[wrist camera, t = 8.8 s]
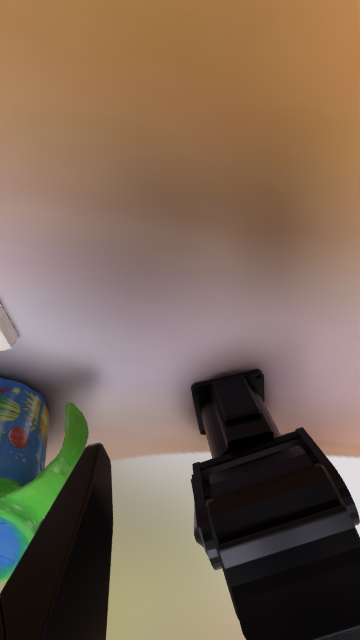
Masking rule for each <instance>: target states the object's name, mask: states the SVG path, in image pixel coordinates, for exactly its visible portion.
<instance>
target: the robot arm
mask: <svg viewBox="0 0 360 640" xmlns="http://www.w3.org/2000/svg"><path fill="white" fill-rule="evenodd" d="M257 375H258V376H257ZM196 389H198V390H196ZM191 392H192V397H193V402H194V406H195V411H196V416H197V421H198V426H199V430H200V433H201V434H202V435H206V436H207V440H208V444H209V447H210V451H211V455H212V459H210V460H207V461H204V462H201V463H200V462H197V463H194V464H193V475H192V479H191V483H192V488H193V494H194V502H195V512H194V536H195V539H196V542H197V543H199V544H200V545H201V546H203V547H204V548H205V551H206V553H207V555H208V557H209V559H210V562H211V564H212V566H213V568H214V569H215V570H218V569H221V568H222V569H223V572H224V575H225V579H226V582H227V585H228V589H229V592H230V595H231V599H232V602H233V605H234V609H235V612H236V615H237V617H238V619H239V621H240V625H241V628H242V632H243V635H244V636H245V638H246V640H360V537H359V535H358V533H357V530H356V528H355V526H356V525H358V524H359V523H360V520H359V515H358V511H357V509H356V506H355V503H354V501H353V499H352V497H351V494H350V492H349V490H348V489H347V486H346V485H345V483H344V481H343V479H342V478H341V476H340V475H339V473H338V471H337V470H336V469H335V467H334V466H333V465H332V463H331V462H330V461H329V460H328V458H327V457H326V456H325V455H324V453H323V452H322V451H321V450H320V448H319V447H318V446H317V445H316V443H315V442H314V441H313V440H312V438H311V437H310V436H309V435H308V433H307V432H306V431H305V430H304V428H303V427H301V428H298V429H295V431H294V432H291V433H288V434H285V435H282V436H281V434H280V432H279V431H278V429H277V427H276V425H275V423H274V421H273V419H272V417H271V415H270V413H269V412H268V410H267V408H266V406H265V404H264V375H263V373H262V371H261V370H254V371H250V372H245V373H241V374H237V375H233V376H228V377H224V378H220V379H215V380H211V381H207V382H203V383H198V384H195V385H193V386H192V387H191ZM112 534H113V505H112V478H111V462H110V459H109V457H108V455H107V453H106V451H105V449H104V447H103V445H102V444H101V443H96V444H92V445H88V446H87V447H86V448H85V449H84V451H83V453H82V454H81V456H80V458H79V460H78V461H77V463H76V465H75V466H74V468H73V470H72V471H71V473H70V475H69V477H68V478H67V480H66V482H65V483H64V485H63V487H62V489H61V490H60V492H59V494H58V495H57V497H56V499H55V501H54V502H53V504H52V506H51V507H50V509H49V511H48V512H47V514H46V516H45V518H44V519H43V521H42V523H41V524H40V526H39V528H38V530H37V531H36V533H35V535H34V536H33V538H32V540H31V542H30V543H29V545H28V547H27V548H26V550H25V552H24V554H23V555H22V557H21V559H20V560H19V562H18V564H17V565H16V567H15V569H14V571H13V572H12V574H11V576H10V577H9V579H8V581H7V583H6V585H5V586H4V588H3V590H2V591H1V593H0V640H106V629H107V612H108V597H109V581H110V566H111V550H112Z"/></svg>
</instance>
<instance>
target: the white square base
mask: <svg viewBox="0 0 360 640" xmlns="http://www.w3.org/2000/svg"><path fill="white" fill-rule="evenodd" d="M18 337H19V335H18V333H17V332H16V330H15V328H14V326H13V325H12V323H11V321H10V319H9V318H8V316H7V314H6V312H5V311H4V309H3V307H2V305H1V304H0V351H4V350H8V349H12V347H13V346H14V344H15V342H16V341H17V339H18Z"/></svg>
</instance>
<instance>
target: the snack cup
mask: <svg viewBox="0 0 360 640" xmlns="http://www.w3.org/2000/svg"><path fill="white" fill-rule="evenodd" d="M48 430H49V412H48V409H47V407H46V404H45V400H44V398H43V396H42V395H41V394H40V393H39V392H35V391H33V390H32V389H31V388H29V387H28V386H26V385H24V384H22V383H19V382H16V381H14V380H7V379H3V378H1V377H0V582H2V581H4V580H7V579H9V577H10V576H11V574H12V572H13V571H14V569H15V567H16V565H17V564H18V562H19V560H20V559H21V557H22V555H23V554H24V552H25V550H26V548H27V547H28V545H29V543H30V542H31V540H32V538H33V536H34V535H35V533H36V531H37V530H38V528H39V526H40V524H41V523H42V521H43V518H44V517H45V516H46V514H47V512H48V511H49V509H50V507H51V506H52V504H53V502H54V501H55V499H56V497H57V495H58V494H59V492H60V490H61V489H62V487H63V485H64V483H65V482H66V480H67V478H68V477H69V475H70V473H71V471H72V470H73V468H74V466H75V465H76V463H77V461H78V460H79V458H80V456H81V454H82V453H83V451H84V449H85V445H86V443H87V438H88V427H87V422H86V420H85V418H84V416H83V414H82V412H81V411H80V410H79V409H78V408H77V407H76V406H75V405H74V404H73V403H67V405H66V422H65V438H64V442H63V446H62V449H61V451H60V452H59V454H58V455H57V457H56V458H55V459H54V460H53V461H52V462H50V464H49V465H48V466H47V467H46V468H45V459H46V449H47V439H48ZM44 468H45V469H44Z"/></svg>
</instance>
